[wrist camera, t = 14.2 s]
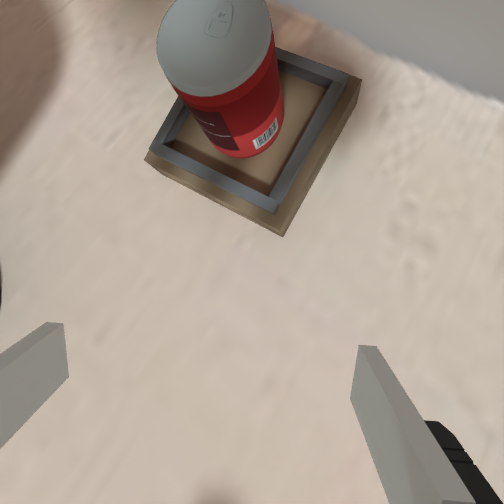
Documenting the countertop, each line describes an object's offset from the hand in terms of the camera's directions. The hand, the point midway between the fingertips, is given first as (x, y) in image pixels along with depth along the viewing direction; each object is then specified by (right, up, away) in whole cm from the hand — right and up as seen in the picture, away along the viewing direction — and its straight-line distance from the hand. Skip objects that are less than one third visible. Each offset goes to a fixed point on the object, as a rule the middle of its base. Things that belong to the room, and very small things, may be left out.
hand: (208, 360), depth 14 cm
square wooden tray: (+2, +17, +21) cm, 27 cm away
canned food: (+1, +17, +17) cm, 24 cm away
